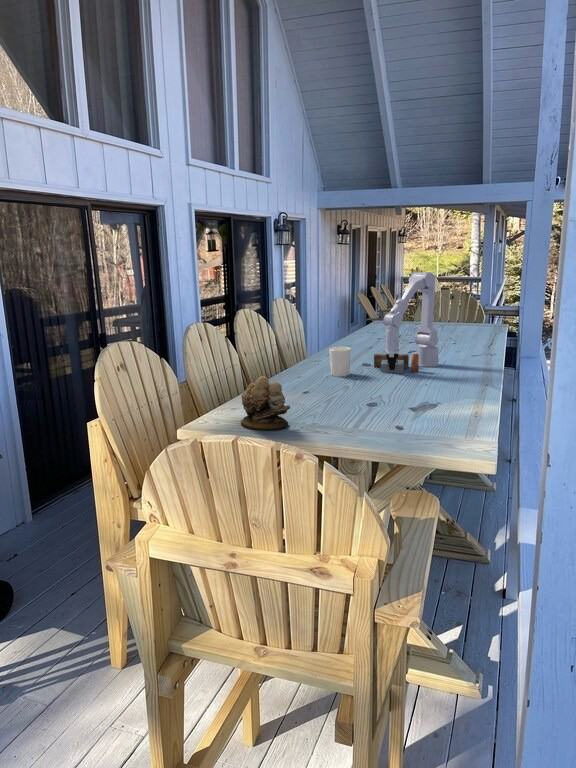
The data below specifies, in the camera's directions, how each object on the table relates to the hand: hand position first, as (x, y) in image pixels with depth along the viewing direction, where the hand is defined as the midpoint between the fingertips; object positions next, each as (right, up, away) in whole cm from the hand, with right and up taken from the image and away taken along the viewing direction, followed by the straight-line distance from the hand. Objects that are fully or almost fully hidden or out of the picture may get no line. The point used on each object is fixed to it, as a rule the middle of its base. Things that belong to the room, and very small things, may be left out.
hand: (392, 369), depth 247 cm
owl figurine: (-55, -20, -65) cm, 87 cm away
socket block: (+1, 0, +6) cm, 6 cm away
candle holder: (-23, -2, +1) cm, 23 cm away
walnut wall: (+2, +2, +12) cm, 13 cm away
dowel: (+11, -1, +1) cm, 11 cm away
